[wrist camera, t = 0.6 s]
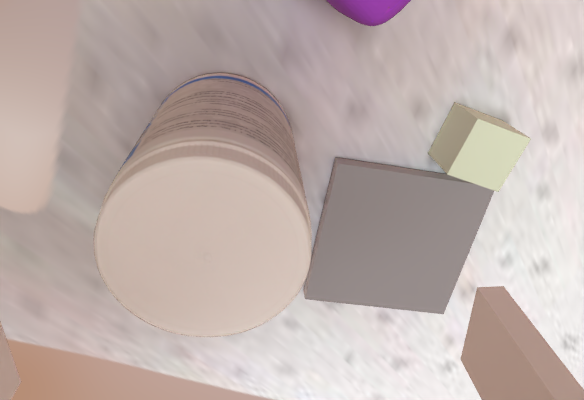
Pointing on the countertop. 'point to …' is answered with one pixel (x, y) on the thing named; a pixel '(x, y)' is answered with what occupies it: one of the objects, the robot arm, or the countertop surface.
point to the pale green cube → (477, 147)
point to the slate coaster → (393, 236)
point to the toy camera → (369, 9)
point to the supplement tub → (208, 213)
